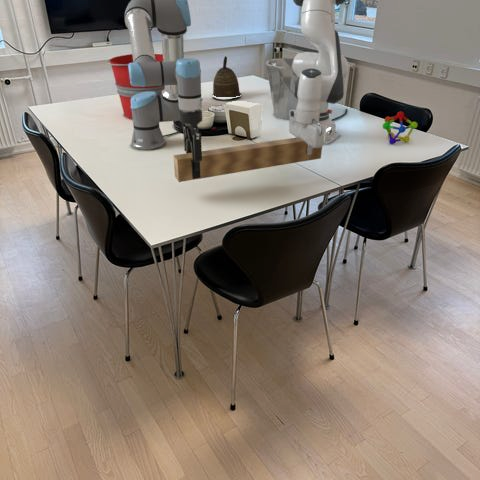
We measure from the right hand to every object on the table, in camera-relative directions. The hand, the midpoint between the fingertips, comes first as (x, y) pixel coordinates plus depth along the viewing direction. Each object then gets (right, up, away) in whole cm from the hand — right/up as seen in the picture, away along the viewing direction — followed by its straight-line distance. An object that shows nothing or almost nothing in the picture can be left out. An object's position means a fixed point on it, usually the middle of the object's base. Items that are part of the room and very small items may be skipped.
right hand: (304, 151), depth 172 cm
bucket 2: (+3, +36, +77) cm, 85 cm away
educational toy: (+49, +12, +39) cm, 64 cm away
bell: (-34, +56, +110) cm, 128 cm away
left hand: (-41, -11, -14) cm, 45 cm away
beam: (-21, -7, -6) cm, 23 cm away
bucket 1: (-78, +37, +78) cm, 117 cm away
